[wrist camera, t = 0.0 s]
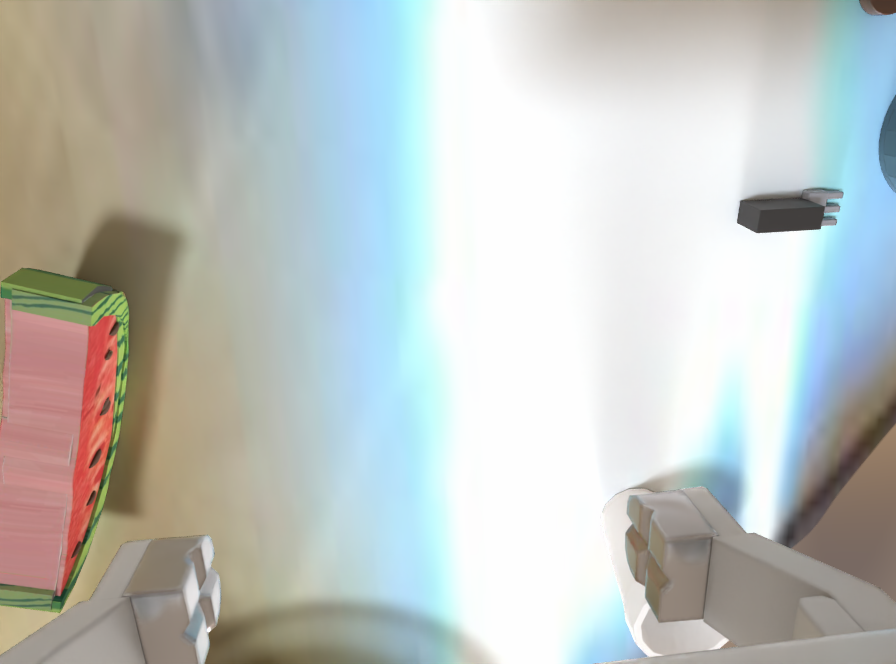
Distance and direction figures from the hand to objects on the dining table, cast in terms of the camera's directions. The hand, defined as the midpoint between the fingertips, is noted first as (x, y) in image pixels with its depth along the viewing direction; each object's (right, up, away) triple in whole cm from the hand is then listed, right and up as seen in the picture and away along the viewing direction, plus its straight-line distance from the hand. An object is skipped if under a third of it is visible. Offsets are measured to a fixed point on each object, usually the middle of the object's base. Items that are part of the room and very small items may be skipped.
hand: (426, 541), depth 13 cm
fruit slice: (-29, -1, +40) cm, 49 cm away
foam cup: (+19, -14, +52) cm, 57 cm away
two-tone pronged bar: (+28, +14, +40) cm, 51 cm away
